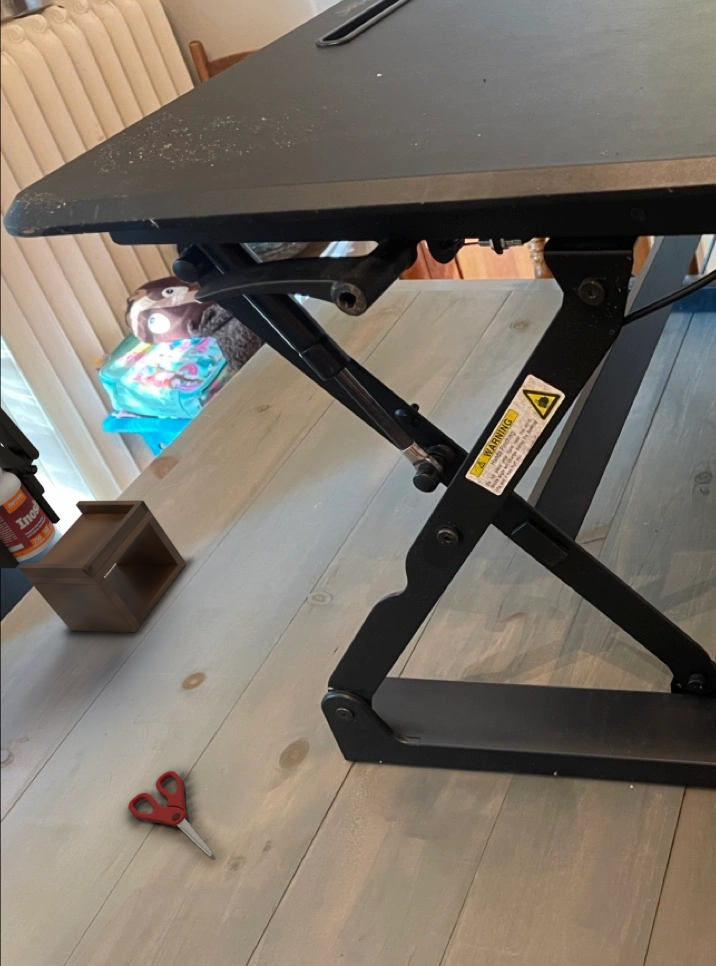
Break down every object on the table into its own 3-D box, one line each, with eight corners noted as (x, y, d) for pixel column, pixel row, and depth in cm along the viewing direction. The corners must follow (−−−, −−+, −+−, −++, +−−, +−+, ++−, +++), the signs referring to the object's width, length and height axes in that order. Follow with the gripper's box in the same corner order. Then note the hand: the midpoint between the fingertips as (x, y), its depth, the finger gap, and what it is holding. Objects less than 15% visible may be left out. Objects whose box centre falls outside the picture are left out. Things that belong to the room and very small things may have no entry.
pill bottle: (51, 555, 117) (-7, 481, 110) (-7, 571, 116) (-69, 498, 110) (63, 518, 122) (8, 446, 115) (8, 534, 121) (-50, 462, 114)
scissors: (174, 771, 116) (170, 766, 116) (237, 837, 108) (233, 832, 108) (128, 809, 113) (123, 803, 113) (189, 879, 105) (185, 874, 105)
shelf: (70, 630, 137) (18, 567, 130) (124, 562, 146) (79, 500, 139) (135, 632, 135) (86, 568, 128) (186, 563, 144) (143, 500, 137)
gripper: (-151, 441, 97) (-4, 609, 111) (-5, 323, 111) (108, 485, 125) (-213, 441, 99) (-61, 607, 113) (-62, 325, 113) (56, 485, 127)
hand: (28, 542), depth 119 cm, fingers closed on pill bottle, 6 cm apart
